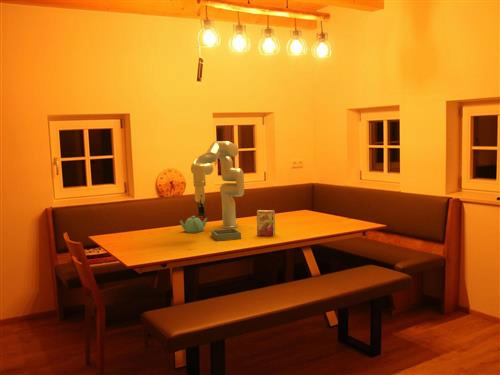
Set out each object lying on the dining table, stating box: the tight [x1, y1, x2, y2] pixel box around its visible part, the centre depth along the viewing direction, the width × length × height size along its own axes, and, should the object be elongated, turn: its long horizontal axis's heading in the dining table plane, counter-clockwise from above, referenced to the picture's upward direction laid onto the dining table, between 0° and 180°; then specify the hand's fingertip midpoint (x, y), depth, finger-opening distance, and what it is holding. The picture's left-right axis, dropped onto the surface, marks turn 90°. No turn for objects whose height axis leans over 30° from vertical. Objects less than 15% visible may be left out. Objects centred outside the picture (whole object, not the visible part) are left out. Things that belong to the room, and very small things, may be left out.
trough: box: [210, 227, 242, 242], centre depth 336 cm, size 16×16×4 cm
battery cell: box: [196, 203, 205, 217], centre depth 328 cm, size 4×4×9 cm
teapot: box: [179, 215, 208, 234], centre depth 361 cm, size 15×15×11 cm
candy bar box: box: [256, 209, 276, 237], centre depth 338 cm, size 11×5×16 cm, turn 70°
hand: (200, 212), depth 329 cm, fingers closed on battery cell, 4 cm apart
